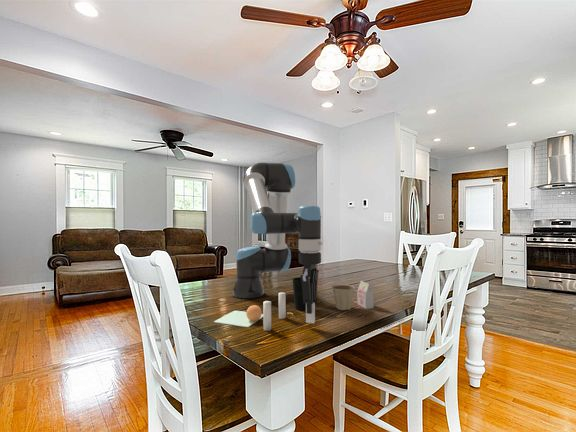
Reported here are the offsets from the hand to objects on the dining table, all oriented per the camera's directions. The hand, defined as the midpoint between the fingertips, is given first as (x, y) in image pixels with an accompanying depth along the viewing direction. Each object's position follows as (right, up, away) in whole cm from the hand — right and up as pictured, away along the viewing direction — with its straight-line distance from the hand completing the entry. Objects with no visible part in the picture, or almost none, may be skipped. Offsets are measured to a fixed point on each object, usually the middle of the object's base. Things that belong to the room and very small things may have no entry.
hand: (310, 322), depth 96 cm
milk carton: (+25, -3, +24) cm, 35 cm away
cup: (-2, -3, +22) cm, 22 cm away
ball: (-20, 0, +7) cm, 21 cm away
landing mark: (-25, -2, +10) cm, 27 cm away
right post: (-10, -2, +11) cm, 15 cm away
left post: (-14, -2, -1) cm, 15 cm away
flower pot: (+15, -3, +22) cm, 27 cm away
